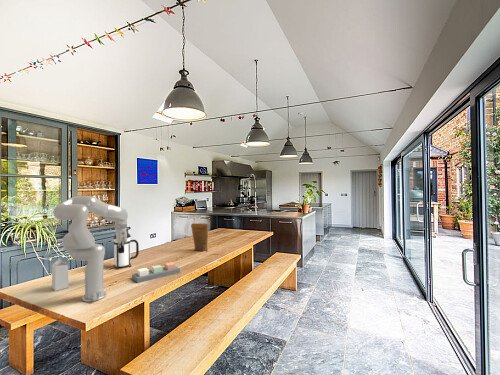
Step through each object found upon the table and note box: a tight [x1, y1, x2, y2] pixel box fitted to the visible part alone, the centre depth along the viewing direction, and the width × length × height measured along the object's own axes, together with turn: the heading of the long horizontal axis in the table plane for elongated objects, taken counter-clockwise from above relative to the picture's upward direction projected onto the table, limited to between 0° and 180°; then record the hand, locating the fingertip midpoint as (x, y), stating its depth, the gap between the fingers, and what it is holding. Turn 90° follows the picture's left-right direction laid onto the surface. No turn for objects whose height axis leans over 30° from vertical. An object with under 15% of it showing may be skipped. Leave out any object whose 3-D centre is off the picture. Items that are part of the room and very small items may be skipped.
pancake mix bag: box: [190, 222, 209, 252], centre depth 259 cm, size 7×19×28 cm, turn 65°
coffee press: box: [111, 232, 140, 270], centre depth 211 cm, size 17×16×30 cm
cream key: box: [136, 267, 150, 277], centre depth 182 cm, size 6×6×5 cm
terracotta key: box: [163, 261, 176, 270], centre depth 196 cm, size 6×6×5 cm
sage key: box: [150, 264, 163, 273], centre depth 189 cm, size 6×6×5 cm
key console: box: [131, 265, 181, 284], centre depth 189 cm, size 12×31×3 cm, turn 131°
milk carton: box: [51, 257, 69, 292], centre depth 167 cm, size 7×7×19 cm
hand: (121, 252), depth 180 cm, fingers closed
